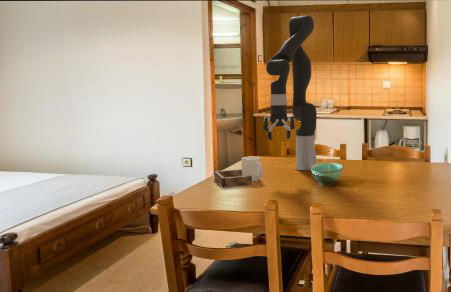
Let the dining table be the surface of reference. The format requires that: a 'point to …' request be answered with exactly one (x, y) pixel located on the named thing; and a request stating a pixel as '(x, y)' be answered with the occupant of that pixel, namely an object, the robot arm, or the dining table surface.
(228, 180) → the tray
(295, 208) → the dining table surface
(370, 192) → the dining table surface
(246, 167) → the mug
